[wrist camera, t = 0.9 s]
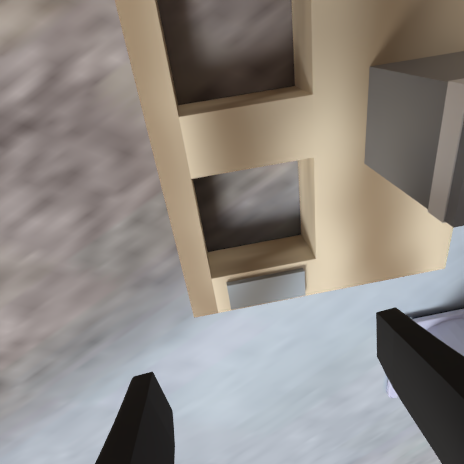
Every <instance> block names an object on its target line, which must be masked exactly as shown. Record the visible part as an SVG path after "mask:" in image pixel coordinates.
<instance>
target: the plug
mask: <svg viewBox="0 0 464 464" xmlns="http://www.w3.org/2000/svg"><path fill="white" fill-rule="evenodd" d="M364 164H366V165H367V166H368V167H370V168H371V169H373V170H374V171H375V172H377V173H378V174H380V175H381V176H382V177H384V178H385V179H386V180H388V181H389V182H391V183H392V184H393V185H395V186H396V187H398V188H399V189H400V190H402V191H403V192H405V193H406V194H407V195H409V196H410V197H411V198H413V199H414V200H416V201H417V202H418V203H420V204H421V205H423V206H424V207H425V208H427V209H428V213H430V214H431V215H433V216H434V217H435V218H437V219H438V220H439V221H441V222H442V223H448V224H449V225H450V226H452V227H458V226H463V225H464V51H461V52H455V53H449V54H443V55H437V56H431V57H425V58H418V59H412V60H406V61H400V62H394V63H388V64H382V65H376V66H370V68H369V86H368V104H367V122H366V141H365V159H364Z"/></svg>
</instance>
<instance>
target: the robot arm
mask: <svg viewBox="0 0 464 464" xmlns="http://www.w3.org/2000/svg"><path fill="white" fill-rule="evenodd" d="M376 319H377V357H378V359H379V361H380V363H381V365H382V367H383V369H384V371H385V373H386V375H387V377H388V385H387V394H388V396H389V397H391V398H395V397H399V398H400V400H401V401H402V403H403V404H404V406H405V407H406V409H407V410H408V412H409V413H410V415H411V417H412V418H413V420H414V421H415V423H416V424H417V426H418V427H419V429H420V430H421V432H422V433H423V435H424V436H425V438H426V440H427V441H428V443H429V444H430V446H431V447H432V449H433V450H434V452H435V453H436V455H437V456H438V458H439V460H440V461H441V463H442V464H464V309H459V310H455V311H450V312H445V313H440V314H435V315H430V316H425V317H420V318H415V319H411V318H409V317H408V316H407V315H405V314H404V313H403V312H401V311H400V310H398V309H397V308H392V309H388V310H384V311H380V312H377V313H376ZM174 453H175V441H174V425H173V412H172V409H171V407H170V405H169V403H168V401H167V399H166V397H165V395H164V393H163V391H162V389H161V387H160V385H159V383H158V381H157V379H156V377H155V375H154V373H153V372H149V373H146V374H142V375H138V376H134V377H133V378H132V380H131V382H130V385H129V387H128V390H127V392H126V395H125V397H124V400H123V402H122V405H121V407H120V410H119V412H118V414H117V417H116V419H115V421H114V424H113V426H112V428H111V430H110V433H109V435H108V437H107V439H106V441H105V444H104V446H103V448H102V450H101V452H100V454H99V457H98V459H97V461H96V463H95V464H174Z"/></svg>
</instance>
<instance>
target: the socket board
mask: <svg viewBox="0 0 464 464" xmlns="http://www.w3.org/2000/svg"><path fill="white" fill-rule="evenodd" d="M291 2H292V26H293V50H294V74H295V86H292V87H286V88H280V89H274V90H268V91H262V92H255V93H249V94H243V95H237V96H231V97H225V98H219V99H213V100H207V101H201V102H195V103H189V104H183V105H178V102H177V97H176V92H175V87H174V82H173V77H172V72H171V67H170V62H169V57H168V52H167V47H166V42H165V37H164V32H163V27H162V22H161V17H160V12H159V7H158V2H157V0H115V3H116V7H117V11H118V15H119V19H120V23H121V27H122V31H123V35H124V39H125V43H126V47H127V51H128V55H129V59H130V63H131V67H132V71H133V75H134V79H135V83H136V87H137V91H138V95H139V99H140V103H141V107H142V111H143V115H144V119H145V123H146V127H147V131H148V135H149V139H150V143H151V147H152V151H153V155H154V159H155V163H156V167H157V171H158V175H159V179H160V183H161V187H162V191H163V195H164V199H165V203H166V207H167V211H168V215H169V219H170V223H171V227H172V231H173V235H174V239H175V242H176V246H177V250H178V254H179V258H180V262H181V266H182V270H183V274H184V278H185V282H186V286H187V290H188V294H189V298H190V302H191V306H192V310H193V314H194V318H195V317H200V316H205V315H210V314H215V313H220V312H225V311H230V310H236V309H241V308H246V307H251V306H256V305H261V304H266V303H271V302H276V301H281V300H287V299H292V298H297V297H302V296H307V295H312V294H317V293H322V292H327V291H332V290H338V289H343V288H348V287H353V286H358V285H363V284H368V283H373V282H378V281H383V280H388V279H394V278H399V277H404V276H409V275H414V274H419V273H424V272H429V271H434V270H439V269H445V266H446V261H447V256H448V251H449V246H450V241H451V236H452V231H453V227H452V226H450V225H449V224H448V223H442V222H441V221H439V220H438V219H437V218H435V217H434V216H433V215H431V214H430V213H428V209H427V208H425V207H424V206H423V205H421V204H420V203H418V202H417V201H416V200H414V199H413V198H411V197H410V196H409V195H407V194H406V193H405V192H403V191H402V190H400V189H399V188H398V187H396V186H395V185H393V184H392V183H391V182H389V181H388V180H386V179H385V178H384V177H382V176H381V175H380V174H378V173H377V172H375V171H374V170H373V169H371V168H370V167H368V166H367V165H366V164H364V159H365V141H366V122H367V104H368V86H369V68H370V66H376V65H382V64H388V63H394V62H400V61H406V60H412V59H418V58H425V57H431V56H437V55H443V54H449V53H455V52H461V51H464V0H291ZM296 160H298V170H299V195H300V219H301V235H297V236H291V237H286V238H281V239H275V240H270V241H265V242H259V243H254V244H249V245H243V246H238V247H233V248H227V249H222V250H217V251H211V252H207V247H206V242H205V237H204V232H203V227H202V222H201V217H200V212H199V207H198V202H197V197H196V192H195V187H194V182H193V179H194V178H199V177H205V176H211V175H216V174H222V173H228V172H233V171H239V170H245V169H250V168H256V167H262V166H268V165H273V164H279V163H285V162H290V161H296Z"/></svg>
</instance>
